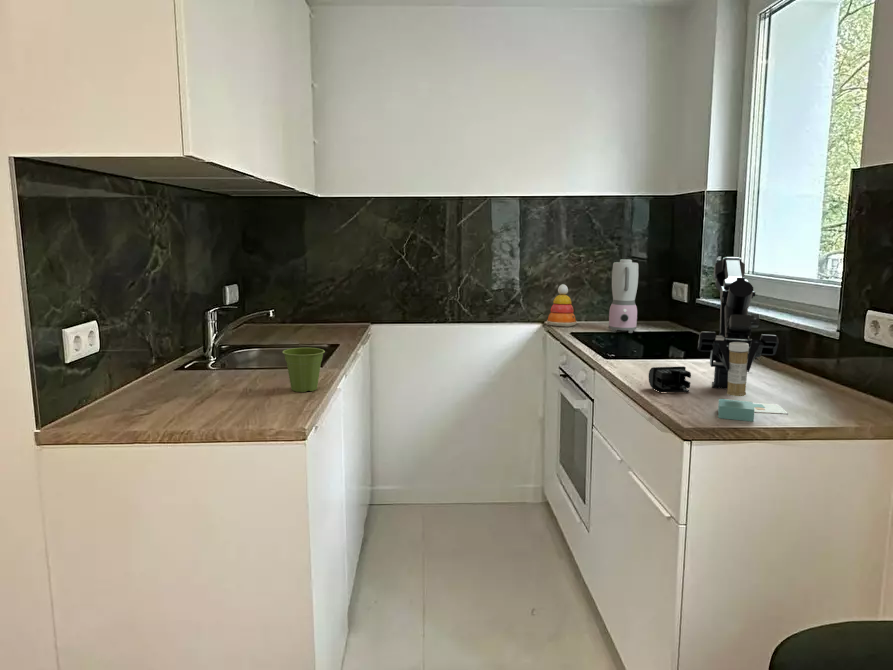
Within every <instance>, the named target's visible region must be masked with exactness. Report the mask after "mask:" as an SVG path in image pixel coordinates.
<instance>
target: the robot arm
mask: <svg viewBox="0 0 893 670" xmlns="http://www.w3.org/2000/svg"><path fill="white" fill-rule="evenodd" d="M745 266H746V264H745V263H744V262H743V261H742V257H739V256H738V257H737V256H736V257H735V256H725V257H723V258H722V260H719V261H718V262H715V264H714V268H713V277H712V278H713V279H714V280H715V287H716V288H717V290H718V291H719V293H720V295H719V297H720V298H719V299H720V307H719V308H720V310H719V311H720V313H719V314H720V315H719V317H720V318H719V334H718V335H717V332H716V331H704V330H703V331H700V333H699V336H698V341H697V350H698V351H699V352H703V353H704V352H705V353H706V352H707V353H710V356H709V366H710V367H711V368H714V372H713V373H714V374H713V376H714V377H713V381H712V382H711V388H712V389H723V390H728V371H729V353H730V352H729V351H730V350H729V343H731V342H745V343H748V344H749V351H748V354H747V355H748V356H747V373H750V370H751V367H752V365H753V363H754V362H755V359H756V358H760V357H761V356H775V355H776V354H777V350H778V347H779V345H780V344H779V343H780V342H779V341H780V340H779V337H778V336H777V335H776V334H763V333H761V335H760V338H759V339H752V338H750V337H751V335H752V328H754V329H755V328H756V329H757V328H758V327H759V326H760V314H759V313H751V314H749V307H750V306H751V301H752V300H753V298H754V297H756V291H754V286H753V285H752V283H750V282H749V280H748V279H746V277H745V272H746V269H745Z"/></svg>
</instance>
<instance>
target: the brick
mask: <svg viewBox="0 0 893 670" xmlns="http://www.w3.org/2000/svg"><path fill="white" fill-rule="evenodd" d="M753 403H754V402H753V401H746V400H736V399H725V398H718V405H717V406H718V407H717V413H718V414H717V415H718V417H717V418H718V419H723V420H724V419H725V420H735V421H742V422H744V421H745V422H754V420H755V412H754V406H753Z"/></svg>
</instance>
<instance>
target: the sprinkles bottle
mask: <svg viewBox="0 0 893 670" xmlns="http://www.w3.org/2000/svg"><path fill="white" fill-rule="evenodd" d="M749 349H750V348H749V344H748V343H745V342H731V343H729V350H730V351H729V352H730V353H729V371H728V389H727V391H726V394H727V395H729V396H732V397H733V396H734V397H745V396H746V395H747V393H746V391H747V389H746V388H747V386H746V385H747V377H748V372H747V360H748V353H749Z"/></svg>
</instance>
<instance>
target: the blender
mask: <svg viewBox="0 0 893 670" xmlns="http://www.w3.org/2000/svg"><path fill="white" fill-rule="evenodd" d="M611 272H612V273H611V292H612V302H611V305H610V307H609V310H608V311H609V312H608V313H609V315H608V329H610V330H611V333H617V331H627V333H628V334H633V333H634V331H635V330H637V322H638V306H637V305H636V296H637V290H638V285H639V263H638V262H634V261H633V260H632V259H625V258H623V259H619V261H616V262H615V261H614V262H613V263H612V271H611Z"/></svg>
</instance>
